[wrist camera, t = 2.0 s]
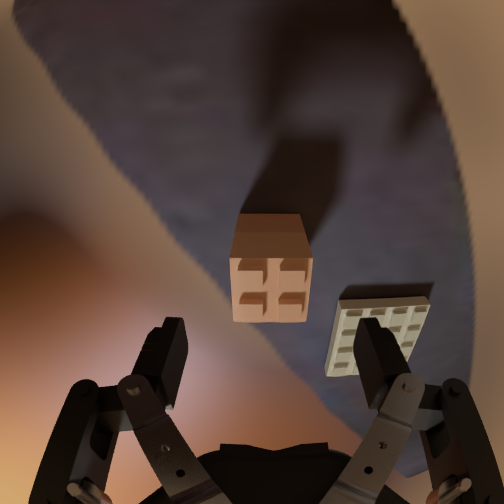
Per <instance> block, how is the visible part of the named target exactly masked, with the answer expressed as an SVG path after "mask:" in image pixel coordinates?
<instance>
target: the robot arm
mask: <svg viewBox="0 0 504 504" xmlns="http://www.w3.org/2000/svg"><path fill="white" fill-rule="evenodd" d="M400 349H401V348H400V346H399V344H398V342H397V340H396V338H395V336H394V334H393V333H392V332H391V331H390V330H389V329H388V328H387V327H382V328H381V326H380V323H379V321H378V319H377V318H376V317H367V318H360V319H359V322H358V327H357V331H356V334H355V338H354V342H353V354H354V358H355V361H356V364H357V368H358V371H359V375H360V378H361V382H362V385H363V389H364V393H365V396H366V400H367V404H368V408H369V409H376V408H377V410H378V414H377V416H376V418H375V420H374V422H373V423H372V425H371V427H370V429H369V430H368V432H367V434H366V435H365V437H364V439H363V440H362V442H361V444H360V445H359V447H358V449H357V450H356V452H355V453H354V455H353V457H350V456H349V455H347V454H345V453H343V452H340V451H337V450H332V449H328V443H327V442H325V443H312V444H300V445H297V446H293V447H289V448H285V449H281V450H276V451H272V450H267V449H263V448H258V447H254V446H250V445H238V444H220V450H217V451H213V452H209V453H206V454H203V455H201V456H199V457H197V458H196V456H195V455H194V453H193V452H192V451H191V449H190V448H189V446H188V444H187V443H186V441H185V440H184V438H183V437H182V435H181V434H180V432H179V431H178V429H177V427H176V426H175V424H174V422H173V421H172V419H171V418H170V417H169V415H167V414H166V412H165V409H169V410H173V408H174V405H175V401H176V397H177V392H178V389H179V385H180V381H181V377H182V374H183V369H184V366H185V362H186V358H187V355H188V340H187V335H186V331H185V325H184V320H183V318H180V317H179V318H178V317H166V318H165V320H164V323H163V325H162V327H155V328H154V329H153V330H152V331H151V332H150V333H149V334H148V335H147V338H146V340H145V342H144V344H143V347H142V350H141V351H140V354H139V356H138V359H137V361H136V363H135V366H134V368H133V371H132V373H131V375H128V376H126V377H124V378H123V379H121V380H120V382H119V383H118V385H115V386H106V387H98V385H97V383H96V382H94V381H92V380H89V379H84V380H80V381H78V382H76V383H75V384H74V385H73V386H72V387H71V389H70V392H69V394H68V396H67V398H66V400H65V402H64V405H63V407H62V410H61V412H60V414H59V417H58V419H57V421H56V424H55V426H54V429H53V432H52V434H51V436H50V439H49V442H48V444H47V447H46V450H45V452H44V455H43V458H42V461H41V463H40V466H39V469H38V472H37V475H36V479H35V481H34V485H33V488H32V491H31V494H30V498H29V503H28V504H113V503H112V500H111V499H110V497H109V496H108V495H107V494H105V493H104V491H105V486H106V482H107V478H108V473H109V469H110V465H111V461H112V457H113V453H114V449H115V445H116V441H117V437H118V434H119V432H120V431H130V430H133V431H134V434H135V436H136V438H137V440H138V442H139V444H140V446H141V448H142V450H143V452H144V454H145V455H146V457H147V459H148V461H149V463H150V465H151V467H152V468H153V470H154V472H155V474H156V476H157V477H158V479H159V481H160V482H161V484H162V486H161V487H160V488H159V489H157V490H156V491H155V492H154V493H152V494H151V495H149V496H148V497H147V498H146V499H144V500H143V501H142V502H140V503H139V504H410V503H408V502H407V501H406V500H404V499H403V498H402V497H400V496H399V495H398V494H397V493H395V492H394V491H393V490H391V489H390V488H389V487H388V486H386V485H385V482H386V481H387V479H388V477H389V475H390V473H391V471H392V469H393V467H394V465H395V464H396V462H397V460H398V458H399V455H400V453H401V451H402V449H403V447H404V445H405V443H406V441H407V438H408V436H409V434H410V432H411V429H414V430H419V432H420V436H421V439H422V443H423V447H424V452H425V456H426V460H427V464H428V469H429V473H430V478H431V483H432V488H433V491H431V492H430V493H429V495H428V497H427V499H426V504H504V487H503V483H502V479H501V476H500V472H499V469H498V466H497V462H496V459H495V456H494V453H493V450H492V447H491V444H490V442H489V439H488V436H487V433H486V430H485V428H484V425H483V423H482V420H481V418H480V415H479V413H478V410H477V408H476V405H475V403H474V401H473V398H472V396H471V394H470V391H469V389H468V387H467V385H466V384H465V383H464V382H463V381H461V380H459V379H456V378H450V379H447V380H446V381H445V382H444V383H443V385H442V386H436V385H427V384H424V382H423V380H422V379H421V378H420V377H418V376H417V375H415V374H412V373H411V371H410V369H409V366H408V364H407V362H406V360H405V357H404V355H403V353H402V351H401V350H400Z"/></svg>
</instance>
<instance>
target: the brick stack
mask: <svg viewBox="0 0 504 504" xmlns="http://www.w3.org/2000/svg"><path fill="white" fill-rule="evenodd" d="M312 262H313V257H312V253H311V250H310V247H309V243H308V240H307V236H306V233H305V230H304V226H303V223H302V220H301V217H300V214H239V215H238V220H237V224H236V229H235V234H234V239H233V244H232V249H231V254H230V274H231V290H232V306H233V320H234V322H306V318H307V310H308V301H309V292H310V283H311V273H312Z"/></svg>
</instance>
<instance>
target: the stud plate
mask: <svg viewBox="0 0 504 504" xmlns="http://www.w3.org/2000/svg"><path fill="white" fill-rule="evenodd" d="M430 305H431V304H430V303H429V301H428V300H427V298H426V297H425V296H420V297H402V298H381V299H354V300H338V305H337V310H336V316H335V321H334V326H333V331H332V336H331V341H330V345H329V350H328V355H327V359H326V363H325V371H326V376H332V377H335V376H345V375H359V371H358V368H357V364H356V361H355V358H354V354H353V342H354V338H355V334H356V331H357V327H358V322H359V319H360V318H367V317H376V318H377V319H378V321H379V323H380V326H381V328H382V327H387V328H388V329H389V330H390V331H391V332H392V333H393V334H394V336H395V338H396V340H397V342H398V344H399V346H400V348H401V349H400V350H401V351H402V353H403V355H404V357H405V360H406V362H407V361H408V359H409V356H410V354H411V352H412V350H413V347H414V345H415V343H416V340H417V338H418V336H419V333H420V331H421V328H422V326H423V323H424V321H425V318H426V315H427V313H428V310H429V307H430Z"/></svg>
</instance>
